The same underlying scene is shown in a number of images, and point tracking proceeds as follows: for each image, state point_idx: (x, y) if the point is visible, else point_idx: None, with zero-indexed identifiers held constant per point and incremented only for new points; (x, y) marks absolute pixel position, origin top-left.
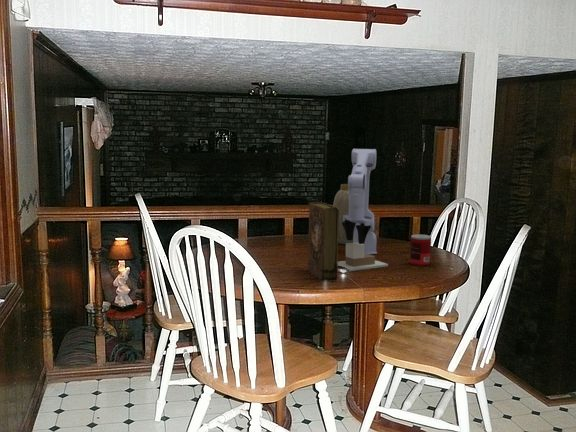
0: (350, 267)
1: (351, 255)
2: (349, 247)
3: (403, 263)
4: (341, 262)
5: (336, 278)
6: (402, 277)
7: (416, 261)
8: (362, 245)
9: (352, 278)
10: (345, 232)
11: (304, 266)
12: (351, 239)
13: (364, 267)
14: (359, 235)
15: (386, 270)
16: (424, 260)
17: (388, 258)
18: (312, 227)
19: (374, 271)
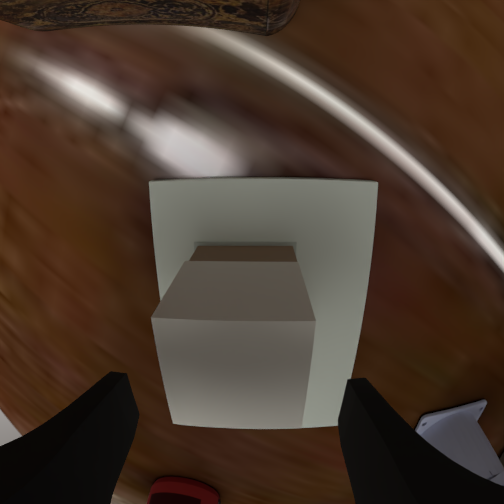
0: (185, 214)
1: (205, 270)
2: (234, 302)
3: (212, 472)
4: (343, 245)
5: (39, 29)
6: (9, 334)
7: (161, 487)
8: (170, 404)
9: (28, 117)
10: (412, 432)
11: (395, 6)
12: (341, 418)
13: (160, 298)
14: (48, 425)
15: (114, 367)
16: (148, 497)
17: (312, 474)
18: None
19: (108, 310)
